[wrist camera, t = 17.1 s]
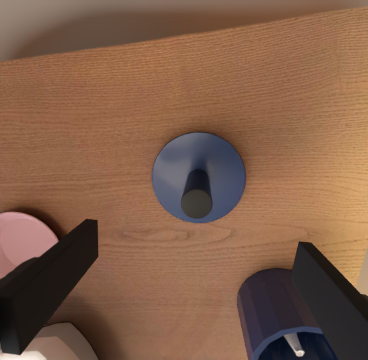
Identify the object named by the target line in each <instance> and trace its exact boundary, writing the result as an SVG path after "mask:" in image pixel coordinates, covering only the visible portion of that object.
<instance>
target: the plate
mask: <svg viewBox="0 0 368 360" xmlns="http://www.w3.org/2000/svg"><path fill="white" fill-rule="evenodd" d="M58 241H59V240H58V238H57V237H56V235H55V234H54V232H53V231H52V230H51V229H50V228H49V227H48V226H47V225H46V224H45V223H43V222H42V221H40V220H39V219H37V218H35V217H33V216H31V215H29V214H25V213H21V212H4V213H1V214H0V277H1V278H3V277H5V276H6V275H7V274H8V273H9V272H11V271H13V269H15V268H16V267H17V266H18V265H20V264H21V263H22V262H24V261H26V260H29V259H31V258H33V257H40V256H41V255H42V254H43V253H45V252H46V251H47V250H48V249H50V248H51V247H52V246H53V245H55V244H56V243H57V242H58Z"/></svg>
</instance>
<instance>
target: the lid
mask: <svg viewBox="0 0 368 360" xmlns="http://www.w3.org/2000/svg"><path fill="white" fill-rule="evenodd" d="M245 181H246V174H245V168H244V164H243V161H242V159H241V157H240V155H239V154H238V152H237V151H236V149H235V148H234V147H233V146H232V145H231V144H230V143H228V142H227V141H226V140H224V139H223V138H221V137H219V136H216V135H214V134H210V133H205V132H193V133H187V134H184V135H181V136H179V137H177V138H175V139H173V140H172V141H170V142H169V143H168V144H167V145H166V146H165V147H164V148H163V149H162V150H161V151H160V153H159V154H158V156H157V158H156V160H155V163H154V166H153V171H152V184H153V189H154V192H155V195H156V197H157V199H158V201H159V202H160V204H161V205H162V206H163V207H164V208H165V209H166V210H167V211H168V212H169V213H170V214H172V215H173V216H175V217H176V218H179V219H181V220H183V221H187V222H192V223H206V222H211V221H214V220H217V219H219V218H221V217H223V216H225V215H226V214H228V213H229V212H230V211H231V210H232V209H233V208H234V207H235V206H236V205H237V203H238V202H239V200H240V198H241V197H242V194H243V191H244V188H245Z"/></svg>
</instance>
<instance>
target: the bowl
mask: <svg viewBox="0 0 368 360" xmlns="http://www.w3.org/2000/svg"><path fill="white" fill-rule="evenodd" d="M0 360H98V358H97V356H96V354H95V353H94V351H93V349H92V347H91V345H90V344H89V343H88V342H87V340H86V339H85V338H84V336H83V335H82V334H81V333H80V332H79V331H78V330H77V329H76V328H75V327H74V326H73V325H72V324H71V323H57V324H53V325H50V326H47V327H44V328H42V329H41V330H40V331H39V333H38V334H37V335H36V336H35V338H34V339H33V340H32V341H31V343H30V344H29V345H28V347H27V348H26V349H25V350H24V352H23V353H22V354H21V355H14V354H7V353H2V350H0Z"/></svg>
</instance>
